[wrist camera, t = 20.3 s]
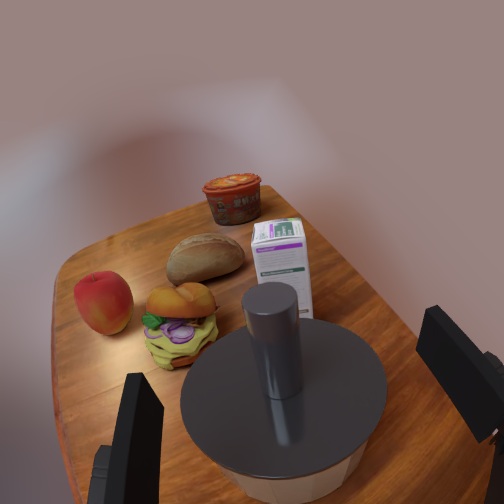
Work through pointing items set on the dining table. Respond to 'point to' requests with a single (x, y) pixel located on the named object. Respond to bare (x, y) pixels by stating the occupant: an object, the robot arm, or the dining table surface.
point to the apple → (104, 301)
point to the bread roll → (203, 258)
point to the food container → (234, 198)
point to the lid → (283, 391)
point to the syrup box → (284, 258)
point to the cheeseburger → (179, 324)
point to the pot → (296, 483)
